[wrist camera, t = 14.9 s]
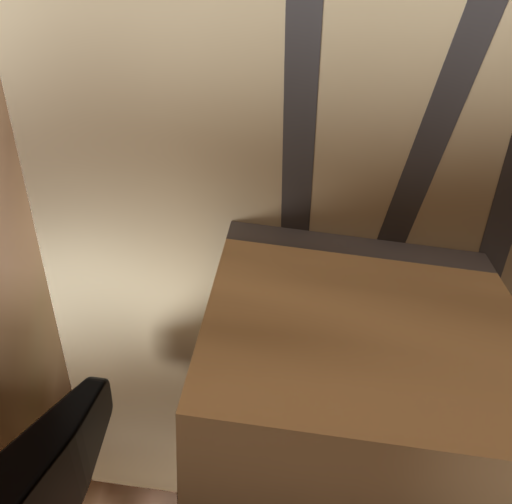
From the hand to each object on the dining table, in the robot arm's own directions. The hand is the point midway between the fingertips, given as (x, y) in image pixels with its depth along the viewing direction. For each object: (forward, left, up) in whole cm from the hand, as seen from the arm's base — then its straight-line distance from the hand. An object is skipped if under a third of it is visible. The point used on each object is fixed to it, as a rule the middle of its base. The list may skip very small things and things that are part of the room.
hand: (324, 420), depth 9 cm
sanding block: (0, 0, -1) cm, 1 cm away
